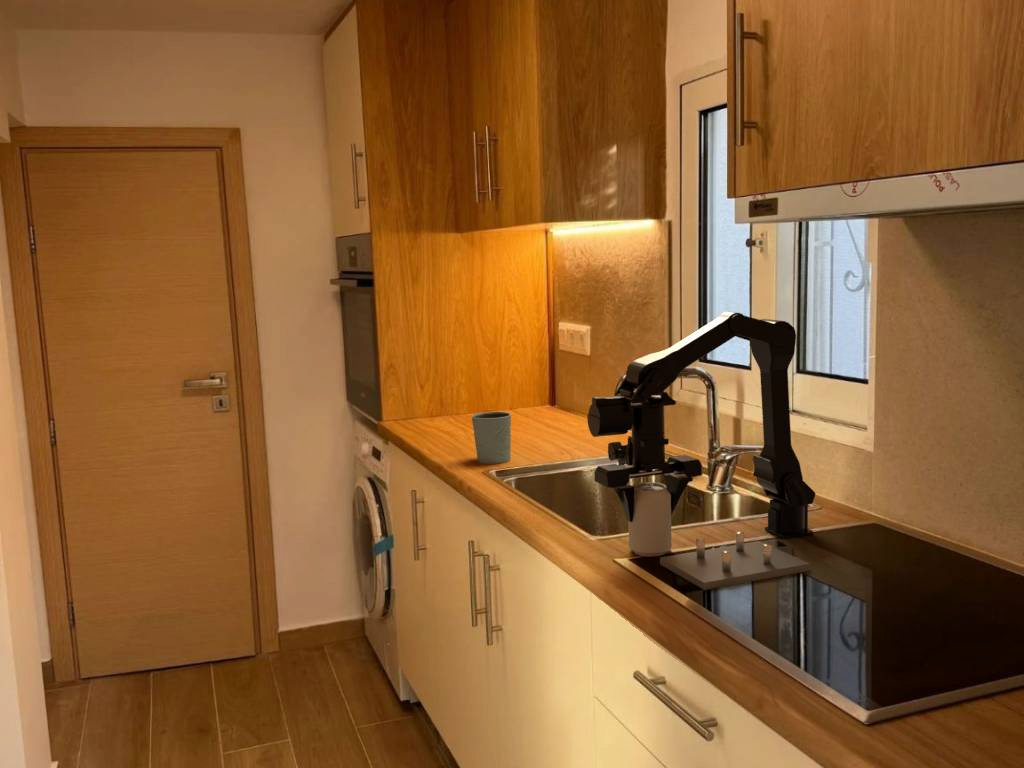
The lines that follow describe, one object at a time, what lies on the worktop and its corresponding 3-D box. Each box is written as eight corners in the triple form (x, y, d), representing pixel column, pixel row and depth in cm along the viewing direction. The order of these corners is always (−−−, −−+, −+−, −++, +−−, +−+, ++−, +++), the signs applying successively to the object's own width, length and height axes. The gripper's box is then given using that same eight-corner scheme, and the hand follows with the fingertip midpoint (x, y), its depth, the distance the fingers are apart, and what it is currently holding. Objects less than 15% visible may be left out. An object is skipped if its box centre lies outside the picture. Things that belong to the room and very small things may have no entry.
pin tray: (759, 547, 173) (759, 523, 173) (809, 570, 160) (809, 544, 160) (660, 564, 166) (659, 539, 166) (704, 590, 153) (704, 563, 153)
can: (627, 557, 170) (626, 490, 169) (630, 544, 178) (629, 480, 176) (671, 558, 169) (670, 491, 167) (672, 545, 176) (671, 480, 175)
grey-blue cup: (516, 462, 249) (514, 416, 247) (477, 466, 247) (475, 419, 245) (508, 454, 258) (506, 410, 257) (470, 458, 256) (468, 413, 255)
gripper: (671, 419, 181) (672, 501, 183) (579, 429, 175) (582, 514, 177) (703, 429, 171) (704, 515, 173) (607, 440, 164) (610, 530, 166)
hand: (649, 518), depth 173 cm, fingers closed on can, 7 cm apart
